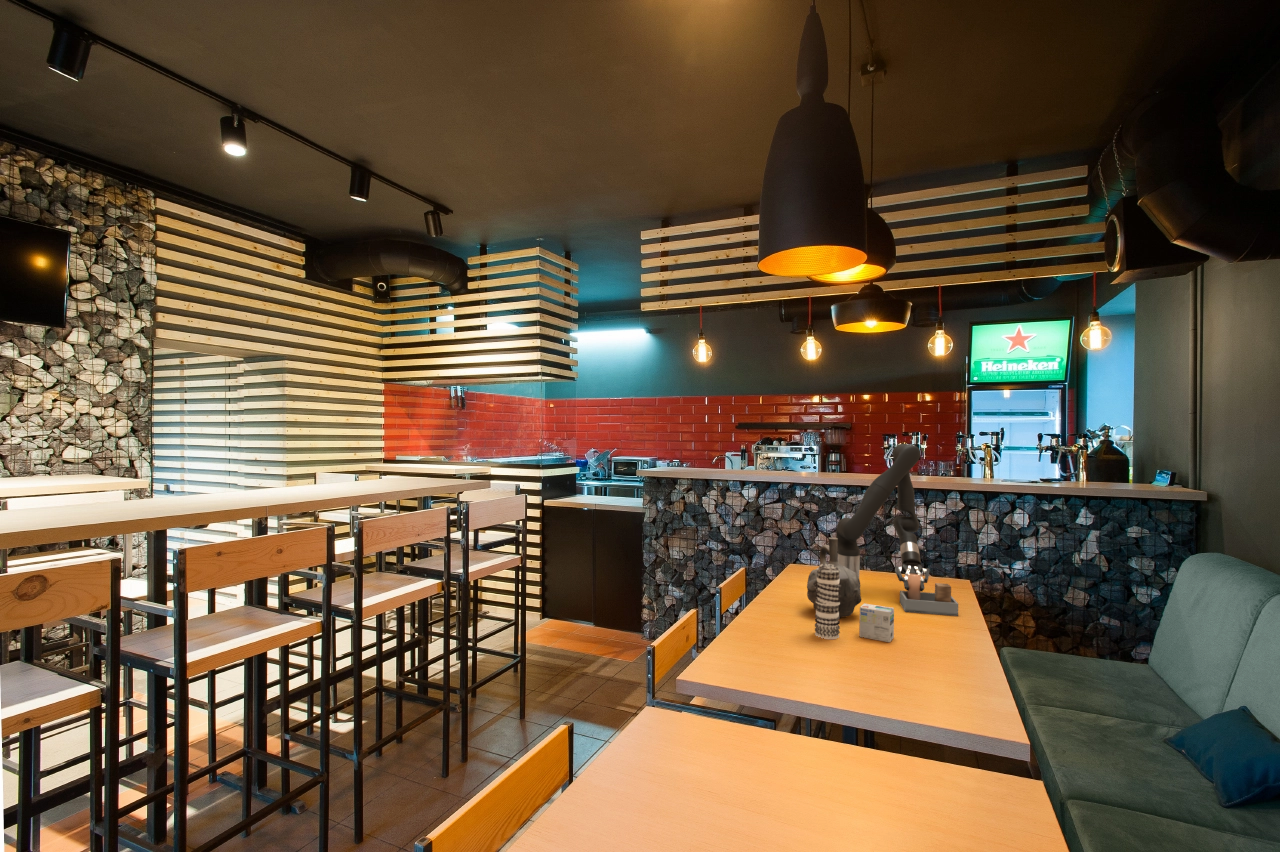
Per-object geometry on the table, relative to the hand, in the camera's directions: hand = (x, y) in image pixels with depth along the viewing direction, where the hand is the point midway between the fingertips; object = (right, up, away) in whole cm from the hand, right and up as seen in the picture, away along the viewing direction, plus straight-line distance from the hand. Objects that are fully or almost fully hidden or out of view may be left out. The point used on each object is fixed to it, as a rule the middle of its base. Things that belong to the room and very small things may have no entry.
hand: (914, 589), depth 267 cm
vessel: (-37, -7, -10) cm, 39 cm away
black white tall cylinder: (-47, -7, -38) cm, 61 cm away
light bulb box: (-30, -7, -39) cm, 50 cm away
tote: (+4, -7, -2) cm, 9 cm away
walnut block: (+9, -6, -6) cm, 12 cm away
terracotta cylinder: (0, -4, +2) cm, 5 cm away
